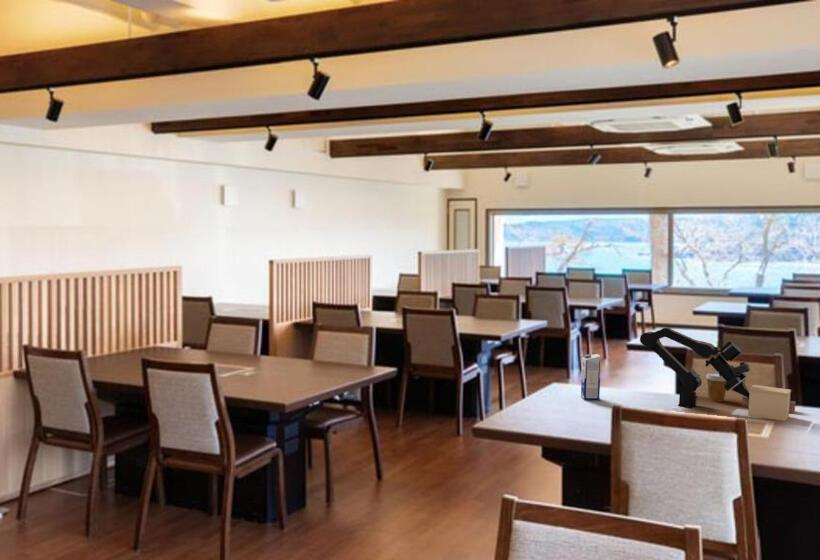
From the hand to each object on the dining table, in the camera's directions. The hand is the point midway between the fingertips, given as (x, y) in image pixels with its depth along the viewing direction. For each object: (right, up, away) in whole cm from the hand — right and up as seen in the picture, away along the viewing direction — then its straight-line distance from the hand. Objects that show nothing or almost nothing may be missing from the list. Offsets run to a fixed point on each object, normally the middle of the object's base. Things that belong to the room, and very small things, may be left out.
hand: (750, 397), depth 322 cm
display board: (+5, -8, -3) cm, 9 cm away
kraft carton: (+6, -7, -4) cm, 10 cm away
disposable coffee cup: (-4, -6, +26) cm, 27 cm away
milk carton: (-61, -5, +24) cm, 66 cm away
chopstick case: (+12, -7, +10) cm, 17 cm away
